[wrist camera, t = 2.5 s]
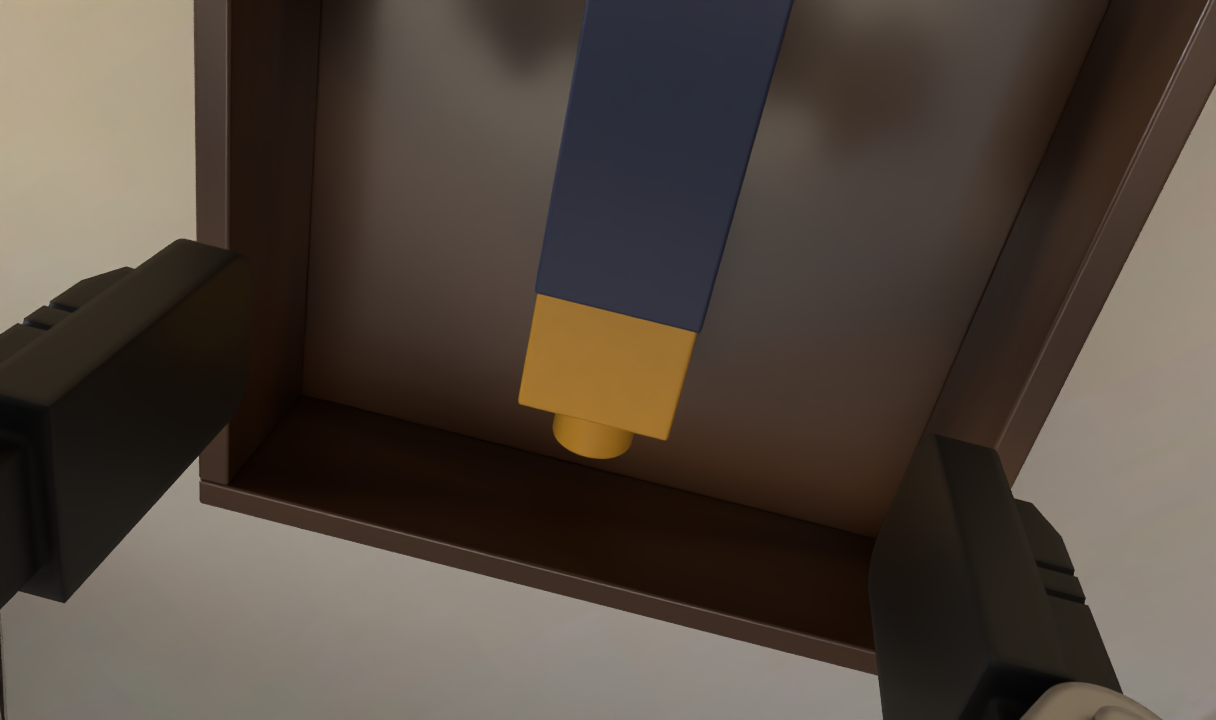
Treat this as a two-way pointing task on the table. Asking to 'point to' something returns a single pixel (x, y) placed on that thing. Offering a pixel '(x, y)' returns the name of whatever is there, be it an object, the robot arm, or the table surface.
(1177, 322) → the table surface
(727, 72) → the blue and yellow battery
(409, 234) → the tray
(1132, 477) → the table surface
